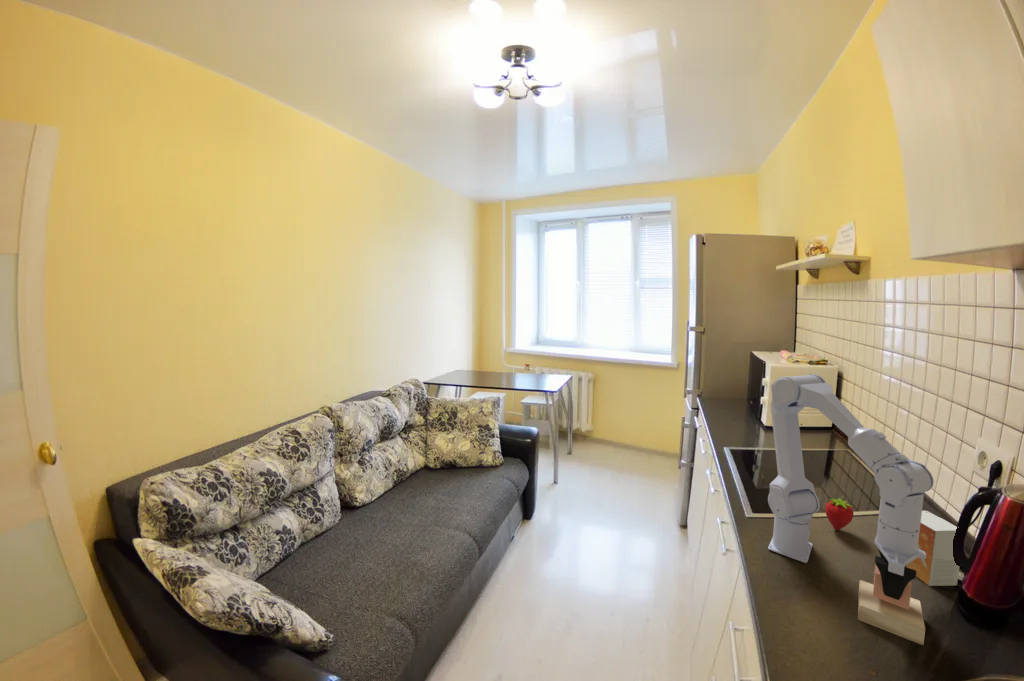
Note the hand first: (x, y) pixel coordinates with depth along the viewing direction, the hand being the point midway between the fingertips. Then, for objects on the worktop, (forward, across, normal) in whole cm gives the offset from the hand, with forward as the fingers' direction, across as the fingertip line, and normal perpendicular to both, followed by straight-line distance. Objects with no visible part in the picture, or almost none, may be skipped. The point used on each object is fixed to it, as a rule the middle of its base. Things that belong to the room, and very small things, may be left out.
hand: (891, 588), depth 78 cm
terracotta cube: (+2, 0, 0) cm, 2 cm away
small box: (+6, +22, -6) cm, 24 cm away
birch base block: (+6, 0, 0) cm, 6 cm away
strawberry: (+6, +30, +10) cm, 32 cm away
